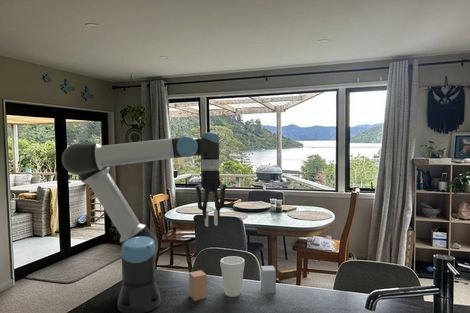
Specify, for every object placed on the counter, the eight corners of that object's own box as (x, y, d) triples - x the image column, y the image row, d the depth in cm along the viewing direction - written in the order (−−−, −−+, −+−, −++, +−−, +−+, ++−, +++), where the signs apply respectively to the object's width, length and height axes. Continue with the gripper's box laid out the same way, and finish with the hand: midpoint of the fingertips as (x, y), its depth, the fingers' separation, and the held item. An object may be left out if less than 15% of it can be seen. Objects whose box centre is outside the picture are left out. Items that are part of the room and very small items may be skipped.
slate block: (263, 293, 128) (263, 270, 127) (260, 288, 132) (260, 266, 132) (275, 292, 128) (275, 270, 128) (273, 287, 133) (272, 265, 133)
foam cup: (234, 300, 122) (234, 266, 121) (215, 294, 127) (215, 261, 127) (249, 291, 129) (249, 259, 129) (230, 286, 135) (230, 254, 134)
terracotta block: (194, 300, 122) (194, 277, 122) (189, 295, 126) (189, 272, 126) (206, 297, 124) (206, 274, 124) (201, 292, 129) (200, 270, 128)
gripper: (193, 170, 130) (194, 229, 131) (232, 169, 136) (232, 225, 136) (189, 169, 137) (190, 225, 138) (226, 168, 143) (226, 221, 143)
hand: (211, 225), depth 137 cm, fingers open, 3 cm apart
